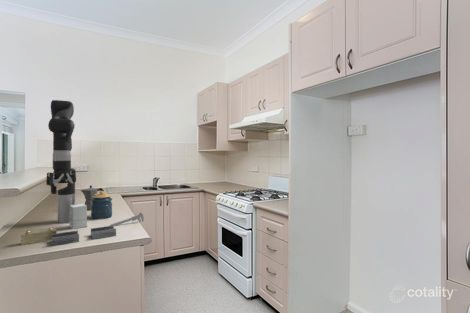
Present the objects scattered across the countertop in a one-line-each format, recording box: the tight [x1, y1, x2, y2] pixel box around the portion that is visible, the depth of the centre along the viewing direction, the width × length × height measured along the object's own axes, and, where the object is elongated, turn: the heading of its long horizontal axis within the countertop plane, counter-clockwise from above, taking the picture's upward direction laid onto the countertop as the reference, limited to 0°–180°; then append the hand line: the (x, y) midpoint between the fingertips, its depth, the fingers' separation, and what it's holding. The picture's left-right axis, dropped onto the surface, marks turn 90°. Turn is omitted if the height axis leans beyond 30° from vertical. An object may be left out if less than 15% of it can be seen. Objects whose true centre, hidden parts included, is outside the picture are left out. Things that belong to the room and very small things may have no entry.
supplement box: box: [69, 203, 88, 230], centre depth 155 cm, size 7×7×13 cm
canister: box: [90, 191, 113, 220], centre depth 178 cm, size 13×13×18 cm
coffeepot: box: [80, 185, 105, 212], centre depth 200 cm, size 15×9×18 cm, turn 118°
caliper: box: [109, 212, 145, 227], centre depth 162 cm, size 20×1×6 cm, turn 129°
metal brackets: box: [51, 225, 117, 247], centre depth 135 cm, size 8×28×4 cm, turn 125°
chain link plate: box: [20, 227, 58, 246], centre depth 130 cm, size 3×14×6 cm, turn 126°
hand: (62, 192), depth 130 cm, fingers open, 8 cm apart
